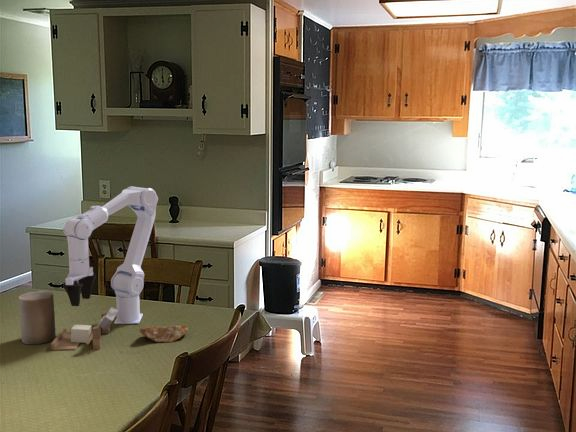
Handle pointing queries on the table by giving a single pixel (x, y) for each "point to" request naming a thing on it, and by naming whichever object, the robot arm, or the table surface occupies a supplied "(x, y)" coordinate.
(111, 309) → the trapdoor
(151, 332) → the decorative stone
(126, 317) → the robot arm
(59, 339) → the frame
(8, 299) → the table surface
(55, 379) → the table surface
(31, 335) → the pillar candle
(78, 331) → the stone block
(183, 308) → the table surface
